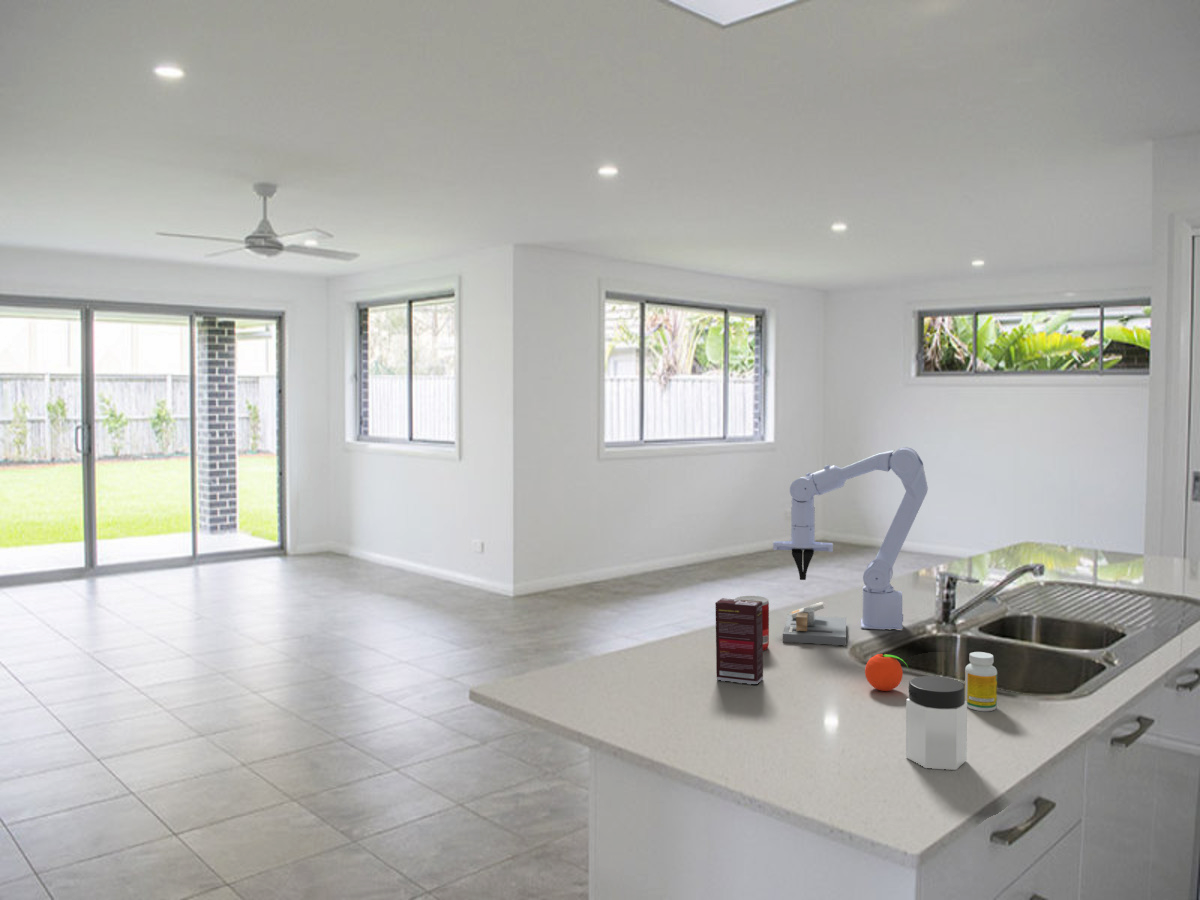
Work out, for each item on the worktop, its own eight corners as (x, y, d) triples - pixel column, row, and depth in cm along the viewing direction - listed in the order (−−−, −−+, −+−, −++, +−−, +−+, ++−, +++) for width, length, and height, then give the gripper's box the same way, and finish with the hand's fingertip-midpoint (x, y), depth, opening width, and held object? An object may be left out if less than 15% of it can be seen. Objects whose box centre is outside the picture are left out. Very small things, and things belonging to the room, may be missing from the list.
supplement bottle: (959, 702, 168) (960, 650, 167) (989, 701, 168) (989, 650, 167) (971, 712, 162) (972, 659, 162) (1002, 711, 162) (1002, 658, 162)
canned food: (767, 643, 209) (767, 595, 208) (770, 653, 201) (770, 603, 201) (733, 642, 210) (733, 595, 209) (735, 652, 202) (735, 603, 201)
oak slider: (807, 626, 214) (807, 613, 214) (806, 631, 210) (806, 617, 210) (797, 626, 215) (797, 612, 214) (796, 630, 210) (796, 617, 210)
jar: (920, 744, 148) (921, 671, 147) (972, 757, 143) (973, 681, 142) (898, 762, 141) (899, 685, 140) (952, 775, 136) (953, 696, 135)
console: (846, 625, 224) (846, 612, 224) (846, 645, 206) (846, 631, 206) (787, 622, 228) (787, 609, 228) (782, 642, 210) (782, 628, 209)
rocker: (824, 604, 224) (823, 600, 224) (824, 608, 220) (822, 604, 220) (793, 615, 226) (791, 611, 226) (792, 618, 222) (791, 614, 222)
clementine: (907, 686, 177) (907, 650, 177) (909, 697, 171) (909, 660, 170) (864, 683, 180) (864, 647, 179) (865, 694, 173) (865, 657, 172)
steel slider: (814, 621, 219) (814, 608, 219) (813, 625, 215) (813, 612, 215) (804, 620, 220) (804, 607, 219) (803, 625, 215) (803, 611, 215)
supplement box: (763, 679, 183) (763, 600, 182) (757, 686, 178) (757, 605, 177) (722, 674, 186) (721, 597, 185) (715, 681, 182) (714, 602, 181)
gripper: (833, 523, 230) (832, 577, 231) (774, 522, 234) (774, 574, 235) (832, 527, 224) (832, 582, 224) (772, 526, 227) (772, 580, 228)
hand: (802, 579), depth 229 cm, fingers closed
